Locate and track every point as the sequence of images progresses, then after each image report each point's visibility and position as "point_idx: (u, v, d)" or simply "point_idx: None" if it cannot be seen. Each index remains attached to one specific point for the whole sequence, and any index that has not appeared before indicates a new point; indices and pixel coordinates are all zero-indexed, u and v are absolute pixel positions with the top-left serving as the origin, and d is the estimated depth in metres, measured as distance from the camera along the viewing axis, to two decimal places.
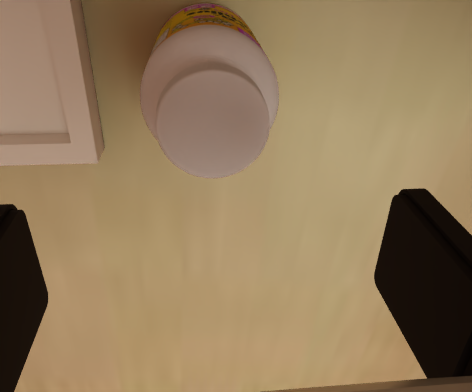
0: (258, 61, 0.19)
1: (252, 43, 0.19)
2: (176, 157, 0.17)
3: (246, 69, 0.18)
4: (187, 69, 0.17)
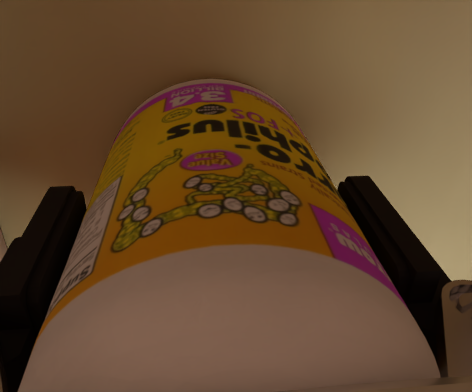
0: None
1: (385, 311, 0.05)
2: None
3: None
4: None
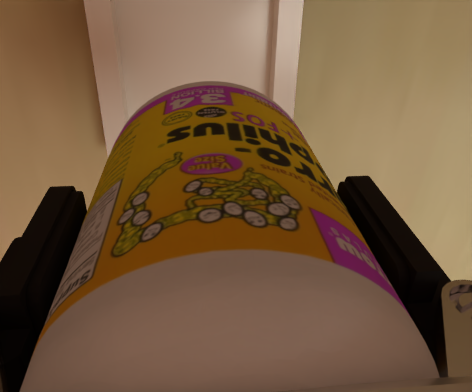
0: None
1: (385, 316, 0.05)
2: None
3: None
4: None
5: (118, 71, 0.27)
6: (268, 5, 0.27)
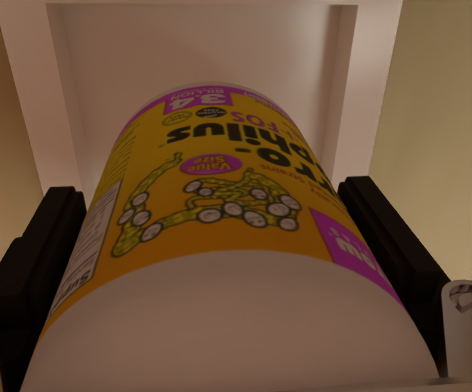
0: None
1: (385, 317, 0.05)
2: None
3: None
4: None
5: (75, 157, 0.16)
6: (326, 44, 0.16)
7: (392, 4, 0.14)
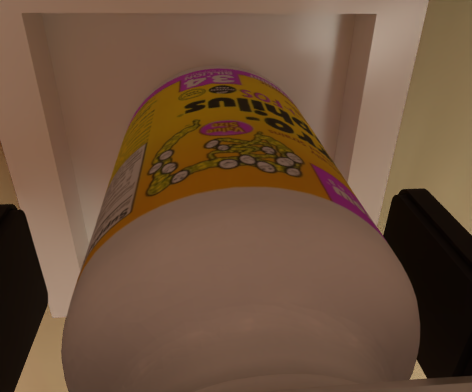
0: (392, 296, 0.07)
1: (372, 242, 0.07)
2: None
3: (362, 330, 0.06)
4: None
5: (59, 183, 0.14)
6: (338, 56, 0.15)
7: (415, 13, 0.12)
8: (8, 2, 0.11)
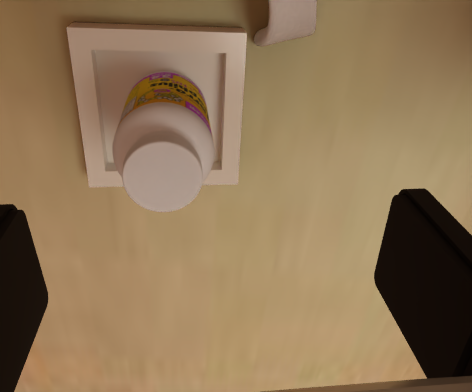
0: (197, 129, 0.26)
1: (194, 116, 0.26)
2: (136, 197, 0.25)
3: (188, 136, 0.26)
4: (145, 138, 0.24)
5: (98, 118, 0.34)
6: (218, 68, 0.34)
7: (241, 53, 0.32)
8: (86, 46, 0.31)
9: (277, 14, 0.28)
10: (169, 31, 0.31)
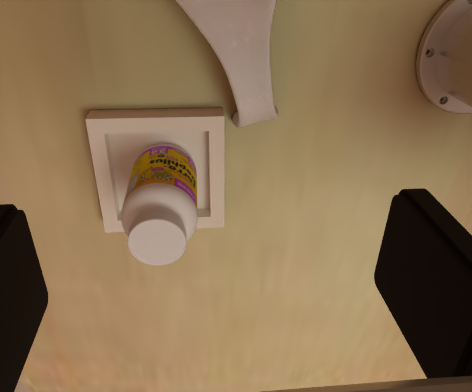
0: (183, 203, 0.35)
1: (180, 193, 0.35)
2: (138, 256, 0.34)
3: (176, 208, 0.35)
4: (143, 215, 0.33)
5: (111, 182, 0.43)
6: (204, 139, 0.43)
7: (221, 130, 0.41)
8: (100, 131, 0.40)
9: (244, 113, 0.37)
10: (163, 118, 0.40)
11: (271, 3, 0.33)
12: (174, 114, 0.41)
